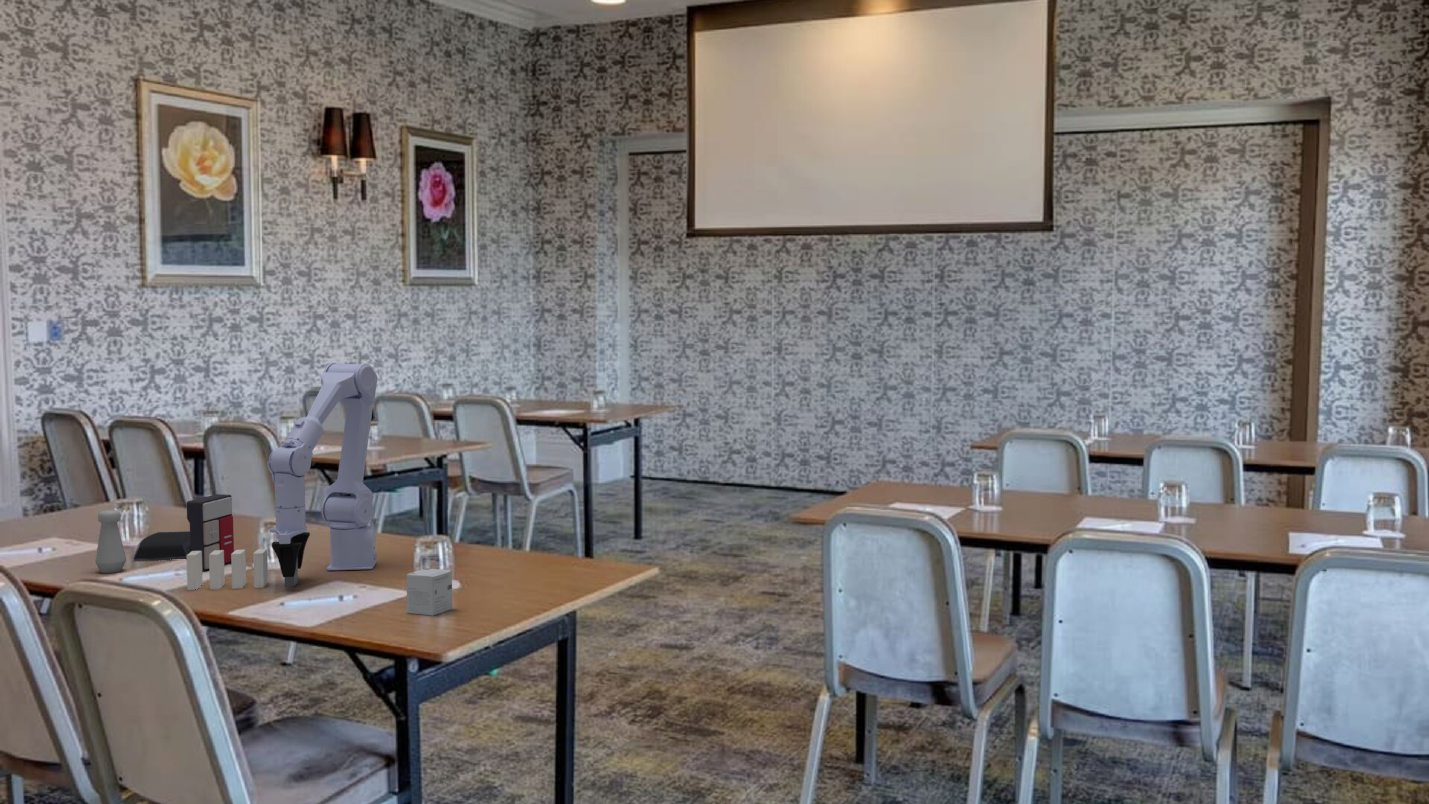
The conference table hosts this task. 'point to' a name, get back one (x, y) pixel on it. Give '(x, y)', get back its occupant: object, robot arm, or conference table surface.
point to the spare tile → (292, 578)
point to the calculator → (211, 526)
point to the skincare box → (429, 591)
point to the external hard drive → (163, 546)
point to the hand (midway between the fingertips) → (292, 572)
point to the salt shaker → (110, 543)
